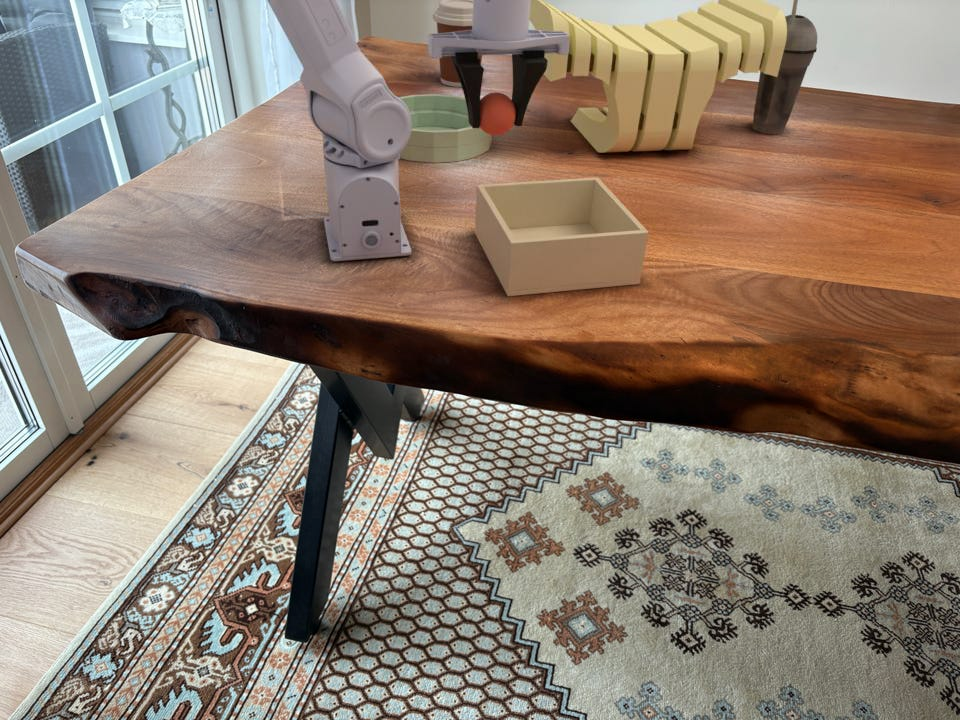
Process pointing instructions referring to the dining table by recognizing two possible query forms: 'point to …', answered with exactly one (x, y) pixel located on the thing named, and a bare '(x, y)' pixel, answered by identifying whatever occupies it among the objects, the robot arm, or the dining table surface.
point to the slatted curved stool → (661, 68)
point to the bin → (558, 236)
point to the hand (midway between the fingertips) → (495, 124)
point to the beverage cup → (785, 76)
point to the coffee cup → (452, 18)
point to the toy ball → (496, 113)
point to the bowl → (442, 130)
